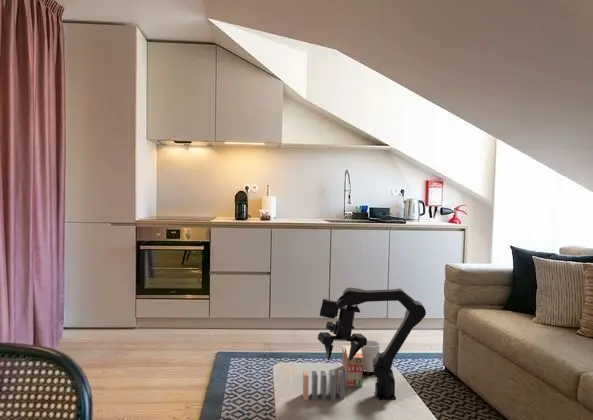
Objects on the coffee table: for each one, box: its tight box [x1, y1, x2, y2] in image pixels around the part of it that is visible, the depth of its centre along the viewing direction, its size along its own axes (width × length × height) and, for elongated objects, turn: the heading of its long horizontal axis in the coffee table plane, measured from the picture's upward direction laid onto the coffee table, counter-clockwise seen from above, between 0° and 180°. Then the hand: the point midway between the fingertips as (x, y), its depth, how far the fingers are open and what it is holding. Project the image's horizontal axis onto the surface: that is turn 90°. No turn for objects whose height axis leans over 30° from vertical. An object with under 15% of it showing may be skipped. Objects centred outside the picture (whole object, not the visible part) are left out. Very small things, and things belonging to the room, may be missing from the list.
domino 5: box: [337, 369, 346, 400], centre depth 172 cm, size 2×5×9 cm, turn 5°
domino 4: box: [328, 369, 337, 400], centre depth 172 cm, size 2×5×9 cm, turn 5°
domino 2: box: [311, 370, 319, 401], centre depth 171 cm, size 2×5×9 cm, turn 5°
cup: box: [361, 339, 381, 372], centre depth 196 cm, size 8×8×12 cm
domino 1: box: [302, 370, 310, 401], centre depth 171 cm, size 2×5×9 cm, turn 5°
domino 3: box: [319, 370, 328, 400], centre depth 171 cm, size 2×5×9 cm, turn 5°
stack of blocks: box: [342, 345, 364, 388], centre depth 191 cm, size 21×6×12 cm, turn 179°
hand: (339, 360), depth 174 cm, fingers open, 9 cm apart
